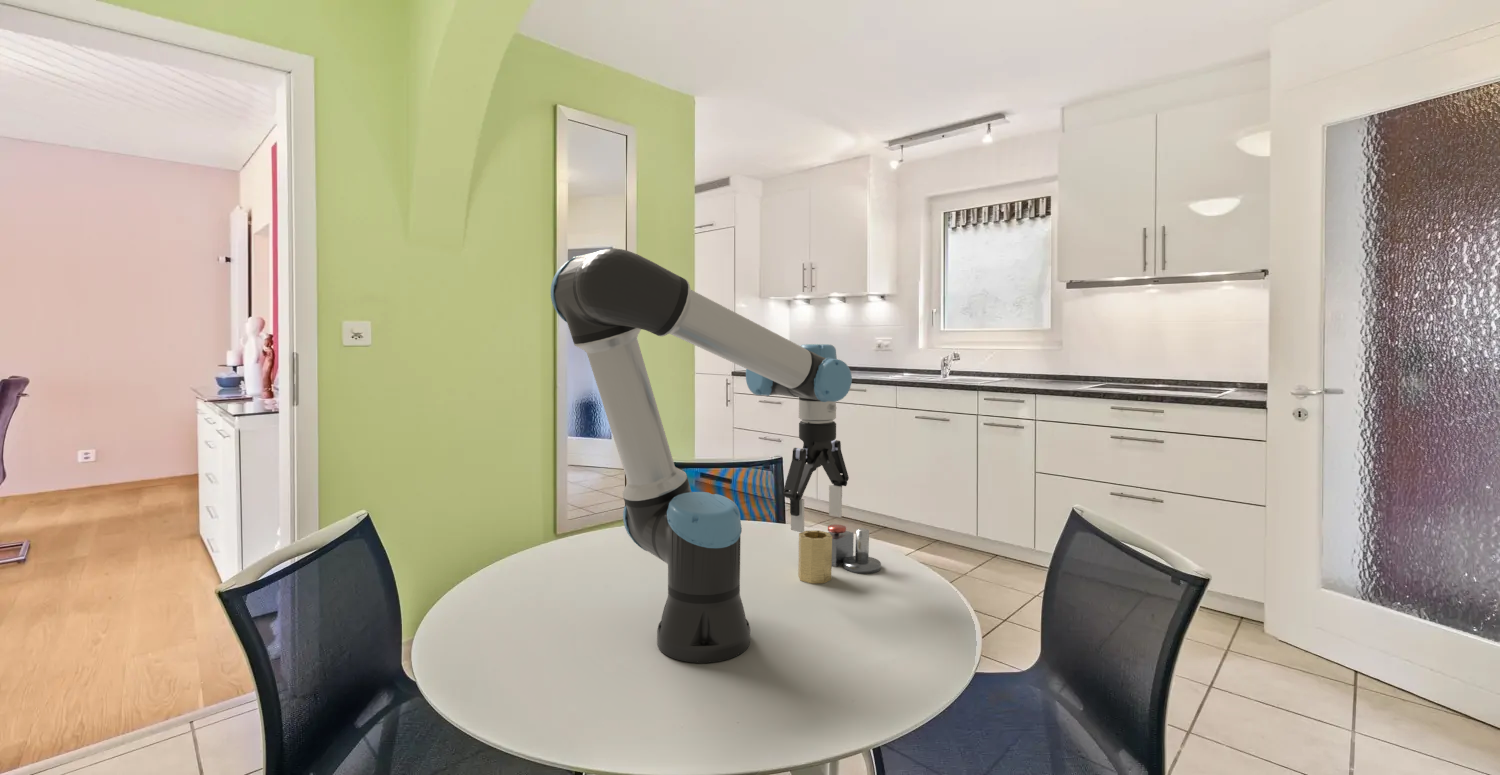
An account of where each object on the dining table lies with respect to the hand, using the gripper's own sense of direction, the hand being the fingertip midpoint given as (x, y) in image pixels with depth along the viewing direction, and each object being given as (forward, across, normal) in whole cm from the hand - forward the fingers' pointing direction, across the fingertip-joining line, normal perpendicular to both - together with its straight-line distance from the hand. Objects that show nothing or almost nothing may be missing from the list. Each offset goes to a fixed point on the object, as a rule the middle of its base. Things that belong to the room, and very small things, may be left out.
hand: (817, 523), depth 140 cm
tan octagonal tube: (+11, -1, 0) cm, 11 cm away
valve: (+12, +11, -1) cm, 16 cm away
